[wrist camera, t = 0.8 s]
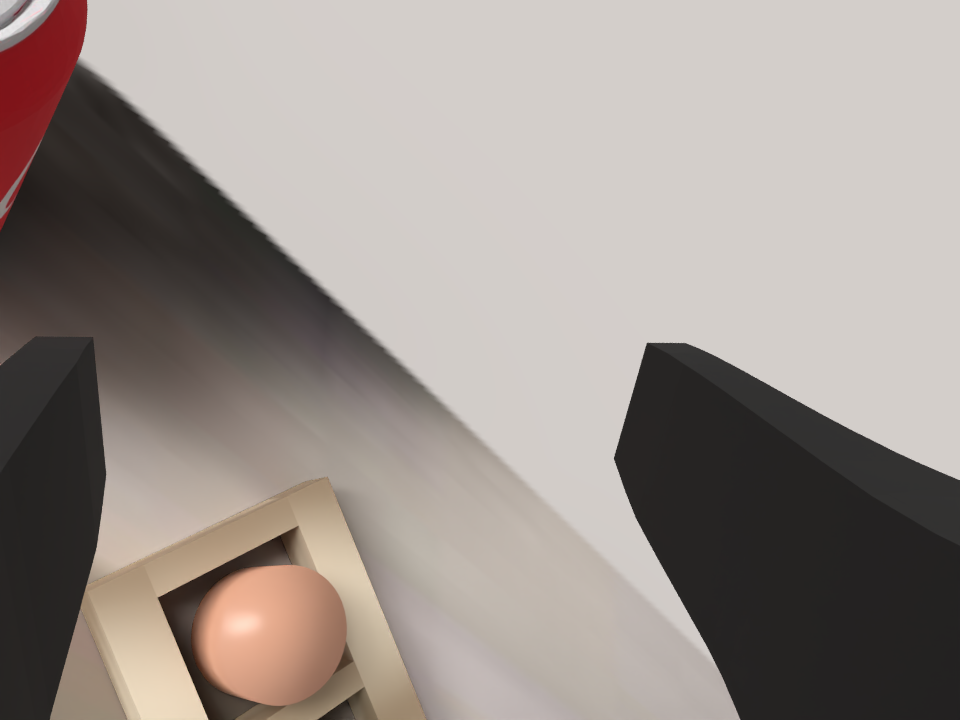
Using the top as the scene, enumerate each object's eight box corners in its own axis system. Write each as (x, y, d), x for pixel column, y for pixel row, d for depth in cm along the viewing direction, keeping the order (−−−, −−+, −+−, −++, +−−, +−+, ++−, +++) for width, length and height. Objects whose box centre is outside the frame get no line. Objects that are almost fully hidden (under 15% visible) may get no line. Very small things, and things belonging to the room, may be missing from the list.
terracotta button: (327, 653, 24) (365, 659, 22) (220, 723, 22) (253, 734, 20) (282, 545, 24) (317, 542, 22) (170, 603, 22) (200, 605, 20)
